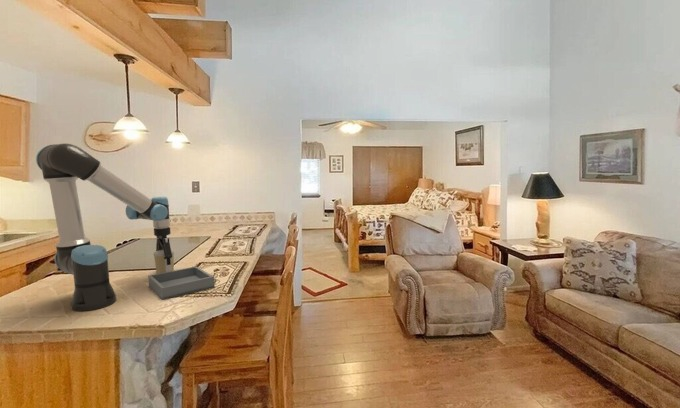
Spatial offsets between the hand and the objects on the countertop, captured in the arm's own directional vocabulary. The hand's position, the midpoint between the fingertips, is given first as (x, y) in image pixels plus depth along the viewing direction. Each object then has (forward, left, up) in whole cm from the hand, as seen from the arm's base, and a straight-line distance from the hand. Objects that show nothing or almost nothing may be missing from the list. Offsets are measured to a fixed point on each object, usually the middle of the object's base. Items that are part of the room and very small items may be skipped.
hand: (164, 268), depth 185 cm
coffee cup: (0, 0, -3) cm, 3 cm away
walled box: (0, -26, -3) cm, 26 cm away
